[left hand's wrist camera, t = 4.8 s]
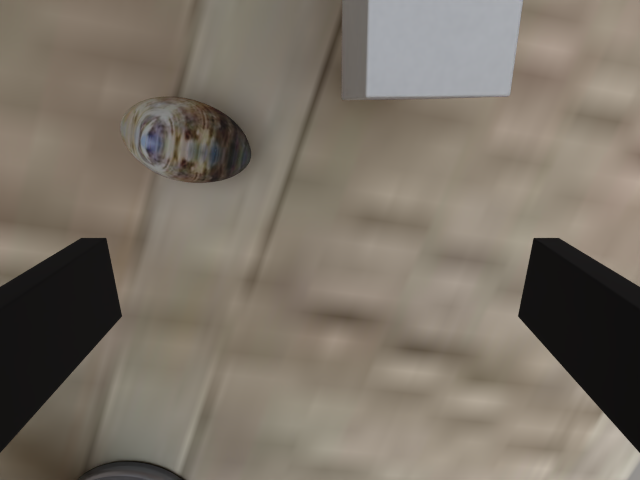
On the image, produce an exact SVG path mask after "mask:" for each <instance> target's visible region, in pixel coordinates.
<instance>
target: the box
mask: <svg viewBox="0 0 640 480" xmlns="http://www.w3.org/2000/svg"><path fill="white" fill-rule="evenodd" d="M522 4H523V0H342V100H391V99H443V98H476V97H507V96H509V95H510V91H511V84H512V76H513V69H514V62H515V55H516V47H517V40H518V33H519V26H520V19H521V11H522Z"/></svg>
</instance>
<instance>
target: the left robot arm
mask: <svg viewBox="0 0 640 480" xmlns="http://www.w3.org/2000/svg"><path fill="white" fill-rule="evenodd" d="M121 317H122V314H121V309H120V304H119V299H118V294H117V289H116V284H115V279H114V274H113V269H112V264H111V259H110V254H109V249H108V244H107V239H106V238H81V239H79V240H77V241H76V242H74V243H72V244H71V245H69V246H67V247H66V248H64V249H62V250H61V251H59V252H57V253H56V254H54V255H52V256H51V257H49V258H47V259H46V260H44V261H42V262H41V263H39V264H37V265H36V266H34V267H33V268H31V269H29V270H28V271H26V272H24V273H23V274H21V275H19V276H18V277H16V278H14V279H13V280H11V281H9V282H8V283H6V284H4V285H3V286H1V287H0V452H1V451H2V450H3V449H4V448H5V447H6V446H7V445H8V443H9V442H10V441H11V440H12V439H13V438H14V437H15V436H16V434H17V433H18V432H19V431H20V430H21V429H22V428H23V427H24V426H25V424H26V423H27V422H28V421H29V420H30V419H31V418H32V417H33V415H34V414H35V413H36V412H37V411H38V410H39V409H40V408H41V406H42V405H43V404H44V403H45V402H46V401H47V400H48V399H49V397H50V396H51V395H52V394H53V393H54V392H55V391H56V390H57V388H58V387H59V386H60V385H61V384H62V383H63V382H64V381H65V380H66V378H67V377H68V376H69V375H70V374H71V373H72V372H73V371H74V369H75V368H76V367H77V366H78V365H79V364H80V363H81V362H82V360H83V359H84V358H85V357H86V356H87V355H88V354H89V353H90V351H91V350H92V349H93V348H94V347H95V346H96V345H97V344H98V343H99V341H100V340H101V339H102V338H103V337H104V336H105V335H106V334H107V332H108V331H109V330H110V329H111V328H112V327H113V326H114V325H115V323H116V322H117V321H118V320H119V319H120V318H121ZM518 317H519V318H520V319H521V320H522V321H523V322H524V323H525V325H526V326H527V327H528V328H529V329H530V330H531V331H532V332H533V334H534V335H535V336H536V337H537V338H538V339H539V340H540V341H541V343H542V344H543V345H544V346H545V347H546V348H547V349H548V350H549V351H550V353H551V354H552V355H553V356H554V357H555V358H556V359H557V360H558V362H559V363H560V364H561V365H562V366H563V367H564V368H565V369H566V371H567V372H568V373H569V374H570V375H571V376H572V377H573V378H574V380H575V381H576V382H577V383H578V384H579V385H580V386H581V387H582V388H583V390H584V391H585V392H586V393H587V394H588V395H589V396H590V397H591V399H592V400H593V401H594V402H595V403H596V404H597V405H598V406H599V408H600V409H601V410H602V411H603V412H604V413H605V414H606V415H607V417H608V418H609V419H610V420H611V421H612V422H613V423H614V424H615V426H616V427H617V428H618V429H619V430H620V431H621V432H622V433H623V434H624V436H625V437H626V438H627V439H628V440H629V441H630V442H631V443H632V445H633V446H634V447H635V448H636V449H637V450H638V451H639V452H640V287H639V286H637V285H636V284H634V283H632V282H631V281H629V280H627V279H626V278H624V277H622V276H621V275H619V274H617V273H616V272H614V271H612V270H611V269H609V268H607V267H606V266H604V265H603V264H601V263H599V262H598V261H596V260H594V259H593V258H591V257H589V256H588V255H586V254H584V253H583V252H581V251H579V250H578V249H576V248H574V247H573V246H571V245H569V244H568V243H566V242H564V241H563V240H561V239H559V238H534V239H533V244H532V249H531V254H530V259H529V264H528V269H527V274H526V279H525V284H524V289H523V294H522V299H521V304H520V309H519V314H518ZM78 480H182V479H181V478H179V477H178V476H176V475H175V474H173V473H171V472H169V471H167V470H165V469H162V468H160V467H157V466H153V465H149V464H145V463H139V462H116V463H110V464H105V465H102V466H99V467H96V468H94V469H92V470H90V471H88V472H87V473H85V474H84V475H82V476H81V477H80V478H79V479H78Z"/></svg>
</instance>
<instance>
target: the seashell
mask: <svg viewBox="0 0 640 480" xmlns="http://www.w3.org/2000/svg"><path fill="white" fill-rule="evenodd" d="M121 136H122V139H123V141H124V143H125V145H126V147H127V148H128V150H129V151H130V152H131V153H132V154H133V156H134V157H135V158H136V159H138V160H139V161H140V162H141V163H142V164H143V165H145V166H146V167H147V168H149V169H150V170H152V171H154V172H156V173H158V174H160V175H162V176H164V177H167V178H170V179H174V180H178V181H184V182H193V183H206V182H215V181H220V180H224V179H227V178H230V177H232V176H234V175H236V174H238V173H240V172H241V171H242V170H243V169H244V168H245V167H246V166H247V165H248V163H249V161H250V158H251V149H250V146H249V143H248V140H247V138H246V136H245V134H244V133H243V131H242V130H241V129H240V127H239V126H238V125H237V124H236V123H235V122H234V121H233V120H232V119H230V118H229V117H228V116H226V115H225V114H224V113H222V112H220V111H219V110H217V109H215V108H213V107H211V106H209V105H206V104H204V103H201V102H198V101H194V100H190V99H185V98H179V97H158V98H152V99H148V100H144V101H142V102H139V103H137V104H136V105H134V106H132V107H131V108H130V109H129V110H128V111H127V112H126V113H125V115H124V116H123V118H122V122H121Z"/></svg>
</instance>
